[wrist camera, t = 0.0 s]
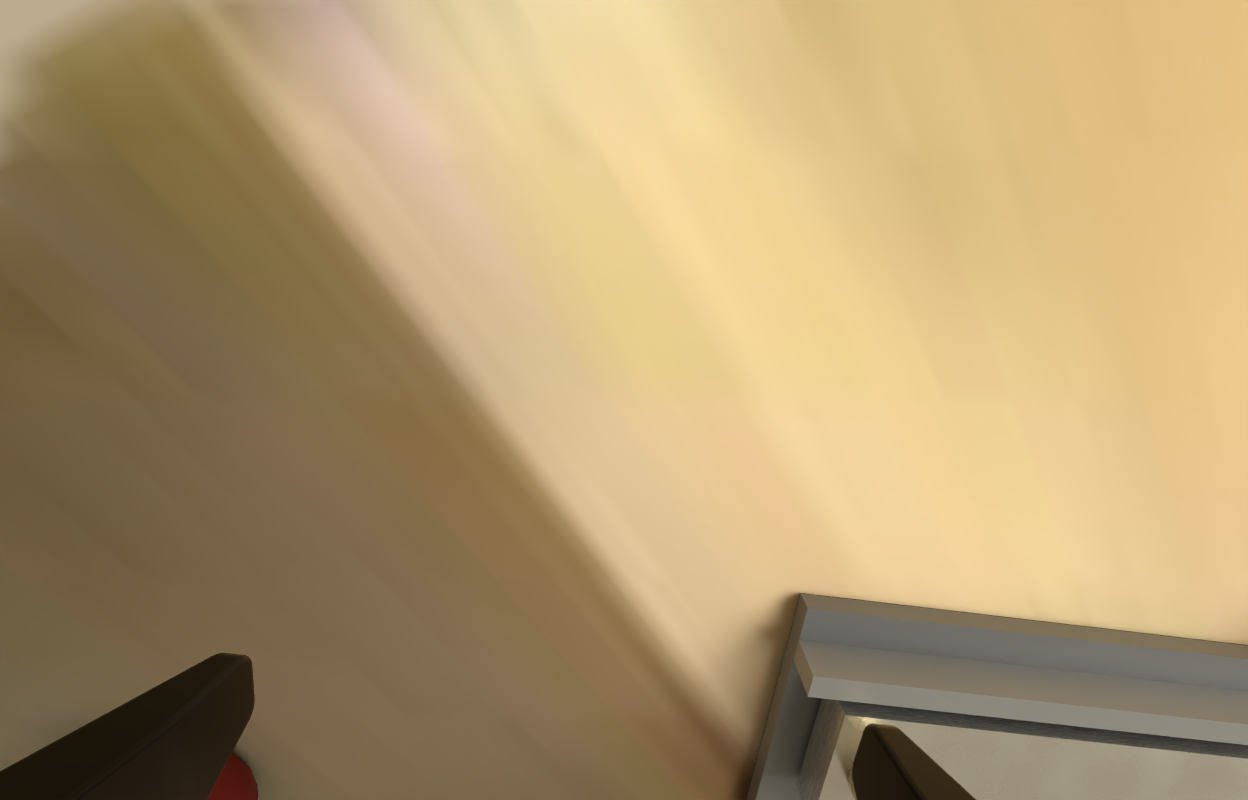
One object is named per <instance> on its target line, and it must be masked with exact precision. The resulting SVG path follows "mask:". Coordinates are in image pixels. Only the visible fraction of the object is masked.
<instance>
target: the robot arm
mask: <svg viewBox="0 0 1248 800" xmlns="http://www.w3.org/2000/svg"><path fill="white" fill-rule="evenodd" d="M254 700H255V698H254V683H253V669H252V661H251V659H250V658H249V657H248V656H246V655H239V654H230V653H219V654H216V655H213V656H211V657H209V658H208V659H206V660H204V661H202V662H200V663H198V664H197V665H195V666H193V667H191V668H189V669H187V670H186V671H184V672H182V673H180V674H178V675H176V676H175V677H173V678H171V679H169V680H167V681H165V682H163V683H162V684H160V685H158V686H156V687H154V688H152V689H151V690H149V691H147V692H145V693H143V694H141V695H140V696H138V697H136V698H134V699H132V700H130V701H129V702H127V703H125V704H123V705H121V706H119V707H118V708H116V709H114V710H112V711H110V712H108V713H107V714H105V715H103V716H101V717H99V718H97V719H95V720H94V721H92V722H90V723H88V724H86V725H84V726H83V727H81V728H79V729H77V730H75V731H73V732H72V733H70V734H68V735H66V736H64V737H62V738H61V739H59V740H57V741H55V742H53V743H51V744H50V745H48V746H46V747H44V748H42V749H40V750H39V751H37V752H35V753H33V754H31V755H29V756H27V757H26V758H24V759H22V760H20V761H18V762H16V763H15V764H13V765H11V766H9V767H7V768H5V769H4V770H2V771H0V800H207V799H208V797H209V795H210V793H211V791H212V789H213V787H214V786H215V784H216V782H217V780H218V778H219V776H220V774H221V772H222V770H223V769H224V767H225V765H226V763H227V761H228V759H229V757H230V755H231V753H232V751H233V750H234V748H235V746H236V744H237V742H238V740H239V738H240V736H241V734H242V733H243V731H244V729H245V727H246V725H247V723H248V721H249V719H250V717H251V714H252V712H253V708H254ZM852 780H853V785H854V789H855V794H856V798H857V800H976V799H975V798H974V797H973V796H972V795H971V794H970V793H969V792H968V791H967V790H965V789H964V788H963V787H962V786H961V785H960V784H959V783H958V782H957V781H956V780H955V779H953V778H952V777H951V776H950V775H949V774H948V773H947V772H946V771H945V770H944V769H943V768H942V767H940V766H939V765H938V764H937V763H936V762H935V761H934V760H933V759H932V758H931V757H930V756H929V755H927V754H926V753H925V752H924V751H923V750H922V749H921V748H920V747H919V746H918V745H917V744H915V743H914V742H913V741H912V740H911V739H910V738H909V737H908V736H907V735H906V734H905V733H904V732H902V731H901V730H900V729H899V728H897V727H896V726H893V725H885V724H876V723H870V724H868V725H867V726H866V727H865V729H864V731H863V734H862V737H861V740H860V743H859V746H858V749H857V752H856V755H855V758H854V761H853V765H852Z"/></svg>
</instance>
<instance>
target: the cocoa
mask: <svg viewBox="0 0 1248 800" xmlns="http://www.w3.org/2000/svg"><path fill="white" fill-rule="evenodd" d="M207 800H258V790H257V783H256V781H255V779H254V777H253V775H252V773H251V770H250V768H249V767H248V766H247V765H246V764H245V763H244V762H243V761H242V760H241V759H239V758H238V757H237V756H236V755H235V754H234V753H231V755H230V757H229V759H228V761H227V763H226V765H225V767H224V769H223V770H222V772H221V774H220V776H219V778H218V780H217V782H216V784H215V786H214V787H213V789H212V791H211V793H210V795H209V797H208V799H207Z"/></svg>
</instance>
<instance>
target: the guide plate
mask: <svg viewBox="0 0 1248 800" xmlns="http://www.w3.org/2000/svg"><path fill="white" fill-rule="evenodd" d="M822 698H823V699H832V700H841V701H851V702H860V703H869V704H878V705H887V706H896V707H905V708H914V709H923V710H933V711H942V712H951V713H960V714H969V715H978V716H987V717H996V718H1005V719H1015V720H1024V721H1033V722H1042V723H1051V724H1060V725H1069V726H1078V727H1087V728H1097V729H1106V730H1115V731H1124V732H1133V733H1142V734H1151V735H1160V736H1169V737H1179V738H1188V739H1197V740H1206V741H1215V742H1224V743H1233V744H1242V745H1248V646H1247V645H1239V644H1230V643H1221V642H1213V641H1204V640H1196V639H1187V638H1179V637H1170V636H1162V635H1153V634H1144V633H1136V632H1127V631H1119V630H1110V629H1102V628H1093V627H1085V626H1076V625H1067V624H1059V623H1050V622H1042V621H1033V620H1025V619H1016V618H1008V617H999V616H991V615H982V614H973V613H965V612H956V611H948V610H939V609H931V608H922V607H914V606H905V605H896V604H888V603H879V602H871V601H862V600H854V599H845V598H837V597H828V596H819V595H811V594H802V593H801V594H800V598H799V602H798V606H797V609H796V613H795V617H794V621H793V625H792V628H791V632H790V636H789V640H788V643H787V647H786V651H785V655H784V659H783V662H782V666H781V670H780V674H779V677H778V681H777V685H776V689H775V693H774V696H773V700H772V704H771V708H770V711H769V715H768V719H767V723H766V727H765V730H764V734H763V738H762V742H761V745H760V749H759V753H758V757H757V761H756V764H755V768H754V772H753V776H752V779H751V783H750V787H749V791H748V795H747V798H746V800H802V799H801V795H800V792H799V789H798V785H797V781H798V778H799V774H800V771H801V768H802V764H803V761H804V757H805V754H806V751H807V747H808V744H809V741H810V737H811V734H812V730H813V727H814V724H815V720H816V717H817V714H818V710H819V707H820V703H821V700H822Z"/></svg>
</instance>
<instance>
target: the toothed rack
mask: <svg viewBox="0 0 1248 800" xmlns="http://www.w3.org/2000/svg"><path fill="white" fill-rule="evenodd" d="M870 723H876V724H885V725H893V726H896V727H897V728H899V729H900V730H901V731H902V732H904V733H905V734H906V735H907V736H908V737H909V738H910V739H911V740H912V741H913V742H914V743H915V744H917V745H918V746H919V747H920V748H921V749H922V750H923V751H924V752H925V753H926V754H927V755H929V756H930V757H931V758H932V759H933V760H934V761H935V762H936V763H937V764H938V765H939V766H940V767H942V768H943V769H944V770H945V771H946V772H947V773H948V774H949V775H950V776H951V777H952V778H953V779H955V780H956V781H957V782H958V783H959V784H960V785H961V786H962V787H963V788H964V789H965V790H967V791H968V792H969V793H970V794H971V795H972V796H973V797H974V798H975V799H976V800H1248V745H1242V744H1233V743H1224V742H1215V741H1206V740H1197V739H1188V738H1179V737H1169V736H1160V735H1151V734H1142V733H1133V732H1124V731H1115V730H1106V729H1097V728H1087V727H1078V726H1069V725H1060V724H1051V723H1042V722H1033V721H1024V720H1015V719H1005V718H996V717H987V716H978V715H969V714H960V713H951V712H942V711H933V710H923V709H914V708H905V707H896V706H887V705H878V704H869V703H860V702H851V701H841V700H832V699H823V698H822V700H821V703H820V707H819V710H818V714H817V717H816V720H815V724H814V727H813V730H812V734H811V737H810V741H809V744H808V747H807V751H806V754H805V757H804V761H803V764H802V768H801V771H800V774H799V778H798V781H797V785H798V789H799V792H800V795H801V799H802V800H857V798H856V794H855V789H854V785H853V780H852V765H853V761H854V758H855V755H856V752H857V749H858V746H859V743H860V740H861V737H862V734H863V731H864V729H865V727H866V726H867V725H868V724H870Z"/></svg>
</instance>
